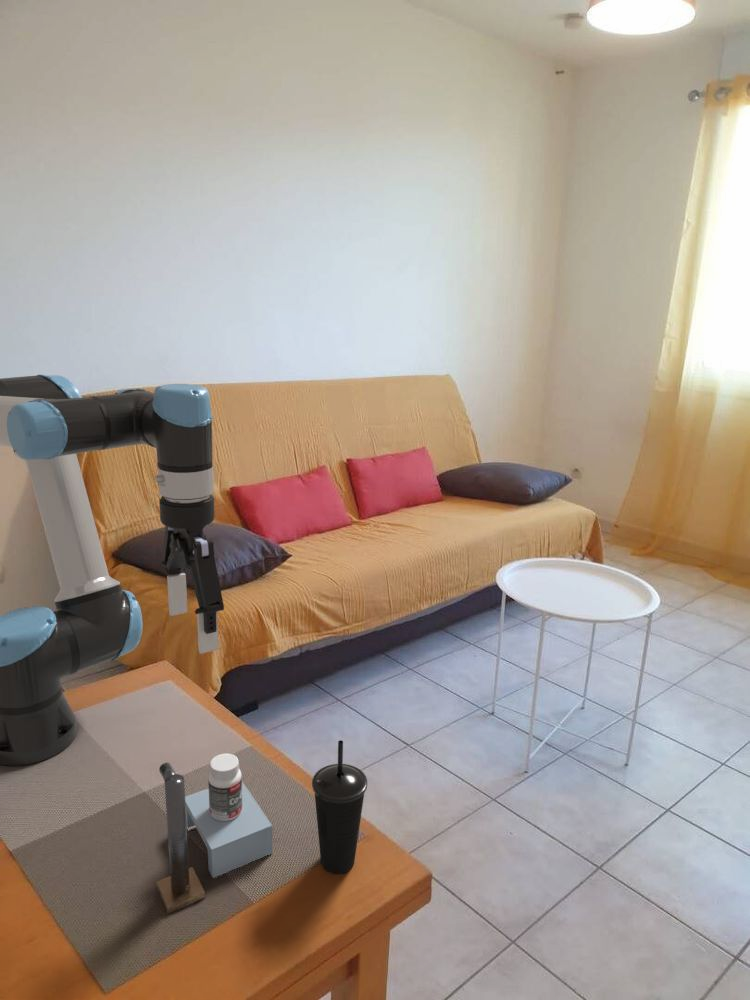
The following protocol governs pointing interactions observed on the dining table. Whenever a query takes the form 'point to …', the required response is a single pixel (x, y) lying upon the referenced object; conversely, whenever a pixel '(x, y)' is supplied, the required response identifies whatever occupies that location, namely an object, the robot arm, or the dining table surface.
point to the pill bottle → (225, 787)
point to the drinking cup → (338, 812)
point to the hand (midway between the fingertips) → (192, 631)
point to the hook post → (177, 847)
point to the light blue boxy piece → (230, 832)
